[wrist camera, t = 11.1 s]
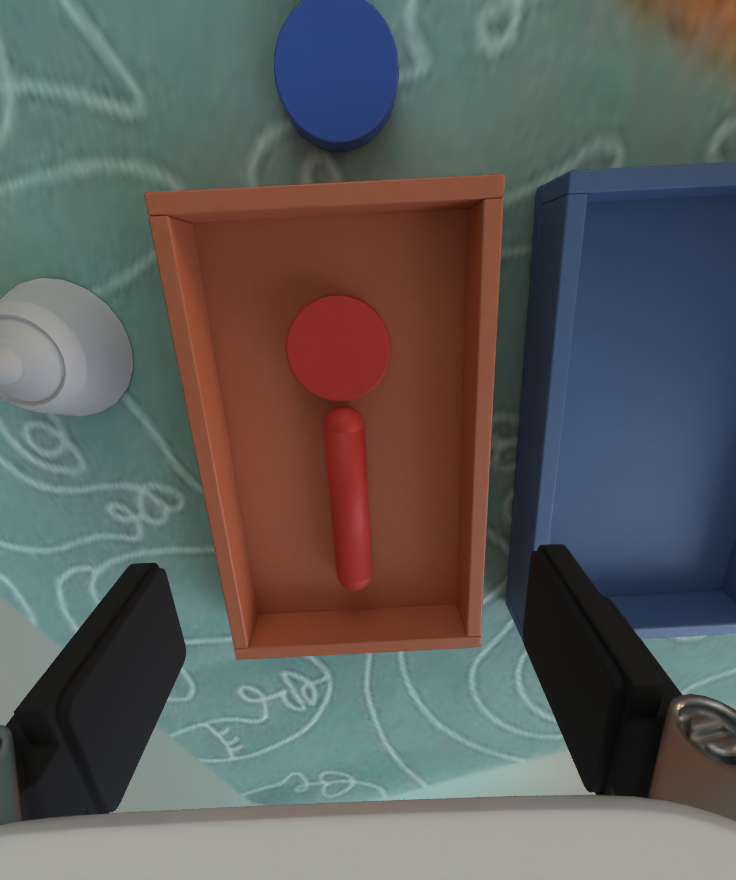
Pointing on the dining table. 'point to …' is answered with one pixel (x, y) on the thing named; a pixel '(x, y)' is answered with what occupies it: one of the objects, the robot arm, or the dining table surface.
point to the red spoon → (343, 412)
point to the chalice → (61, 349)
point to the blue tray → (633, 394)
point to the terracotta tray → (303, 414)
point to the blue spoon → (336, 72)
